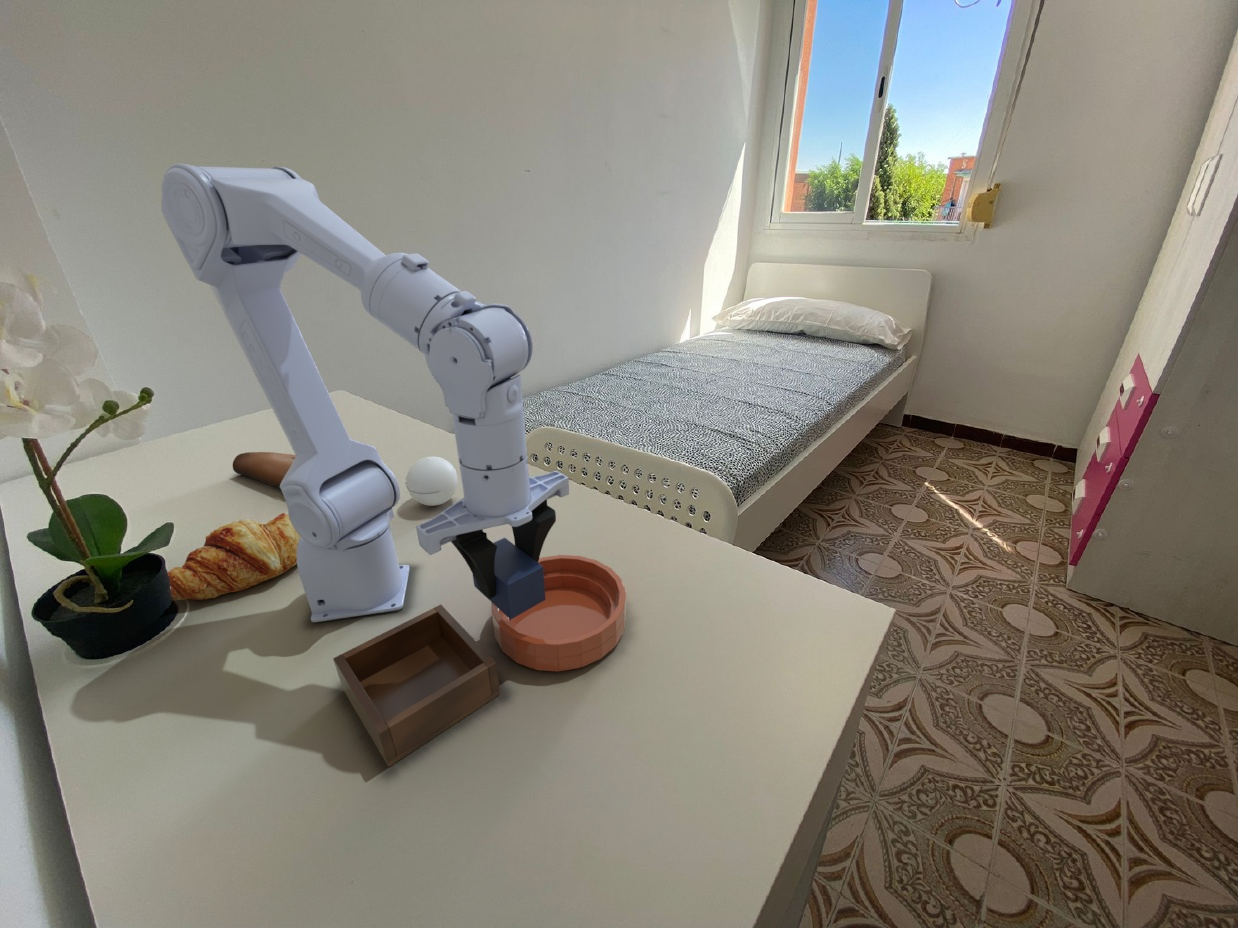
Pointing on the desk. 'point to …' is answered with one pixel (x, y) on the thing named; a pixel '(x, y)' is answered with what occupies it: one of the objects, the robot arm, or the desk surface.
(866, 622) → the desk surface
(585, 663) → the bowl
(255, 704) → the desk surface
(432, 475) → the white sphere
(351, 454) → the robot arm
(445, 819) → the desk surface
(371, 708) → the box
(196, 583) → the croissant
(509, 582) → the dark blue block
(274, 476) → the sunglasses case
